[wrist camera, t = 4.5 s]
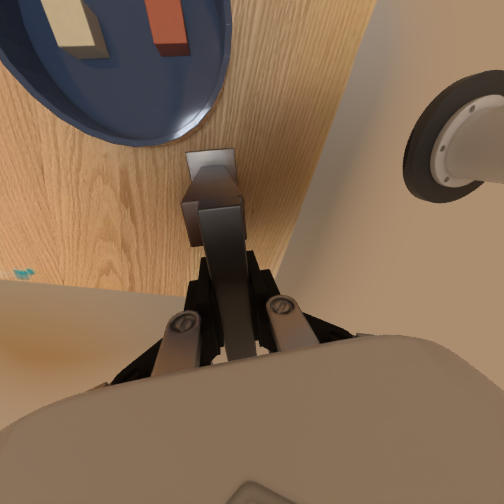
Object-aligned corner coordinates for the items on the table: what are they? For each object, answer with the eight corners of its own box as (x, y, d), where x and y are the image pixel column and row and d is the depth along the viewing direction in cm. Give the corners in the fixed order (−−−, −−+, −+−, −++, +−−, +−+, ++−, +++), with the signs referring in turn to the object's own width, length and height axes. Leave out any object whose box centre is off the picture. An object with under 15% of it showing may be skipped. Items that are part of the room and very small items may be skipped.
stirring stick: (237, 194, 9) (241, 204, 7) (254, 349, 13) (258, 373, 12) (198, 198, 8) (195, 209, 7) (229, 354, 13) (231, 379, 12)
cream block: (97, 16, 19) (78, -5, 17) (110, 58, 21) (95, 45, 18) (62, 16, 19) (38, -5, 16) (78, 59, 20) (58, 46, 18)
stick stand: (233, 148, 27) (272, 151, 9) (242, 238, 33) (277, 343, 15) (186, 152, 26) (132, 163, 8) (205, 243, 32) (196, 359, 15)
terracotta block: (183, 15, 20) (179, -5, 17) (190, 55, 22) (187, 43, 19) (152, 15, 20) (143, -5, 17) (161, 56, 21) (153, 44, 19)
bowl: (211, -118, 17) (211, -220, 12) (236, 139, 26) (242, 138, 22) (-49, -134, 15) (-172, -266, 10) (76, 153, 24) (42, 154, 19)
